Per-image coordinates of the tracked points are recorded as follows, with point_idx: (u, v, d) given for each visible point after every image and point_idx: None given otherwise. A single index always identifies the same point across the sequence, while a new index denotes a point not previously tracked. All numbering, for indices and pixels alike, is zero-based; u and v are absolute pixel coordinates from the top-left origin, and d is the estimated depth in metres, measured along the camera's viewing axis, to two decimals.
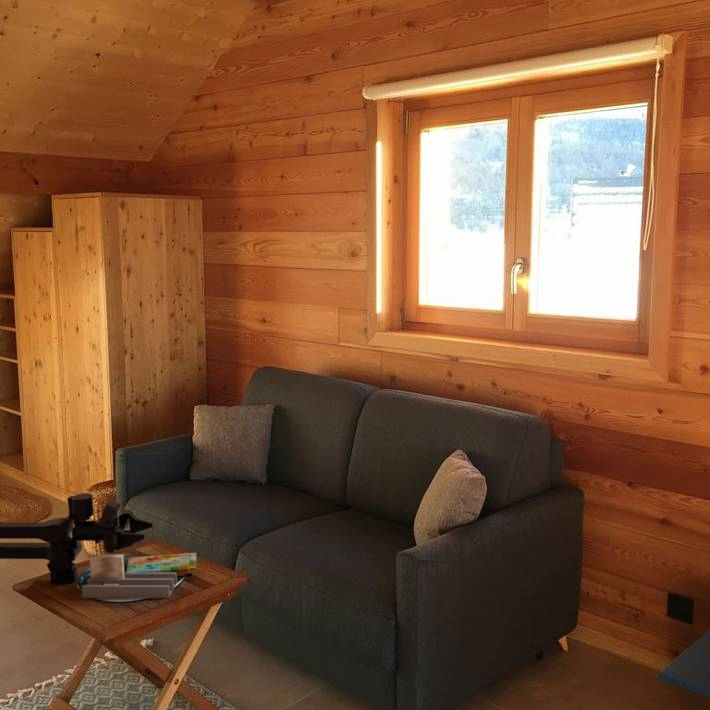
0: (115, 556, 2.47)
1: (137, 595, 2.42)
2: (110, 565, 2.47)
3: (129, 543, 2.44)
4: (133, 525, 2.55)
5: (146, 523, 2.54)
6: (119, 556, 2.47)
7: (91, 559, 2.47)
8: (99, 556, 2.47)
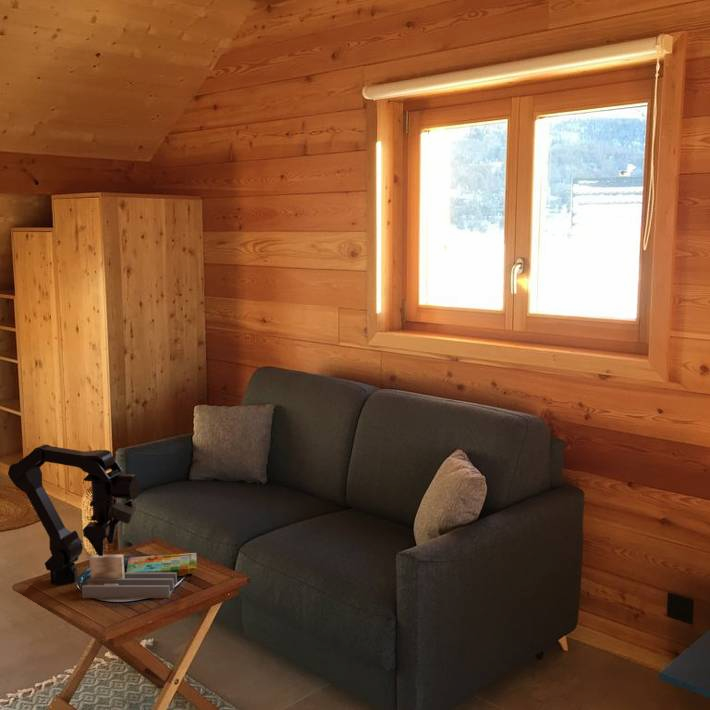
0: (115, 556, 2.47)
1: (137, 595, 2.42)
2: (110, 565, 2.47)
3: (93, 544, 2.41)
4: (109, 523, 2.51)
5: (112, 537, 2.51)
6: (119, 556, 2.47)
7: (91, 559, 2.47)
8: (99, 556, 2.47)
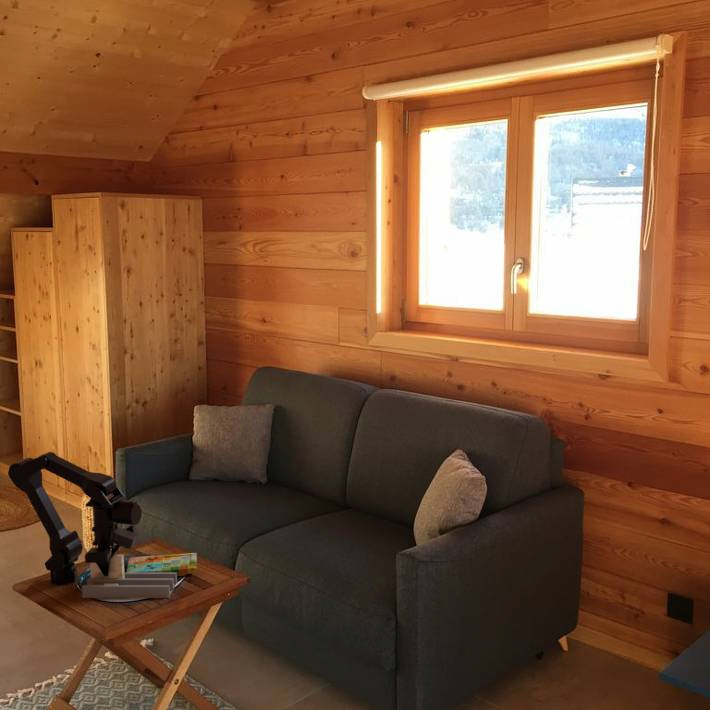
0: (115, 556, 2.47)
1: (137, 595, 2.42)
2: (110, 565, 2.47)
3: (98, 564, 2.45)
4: None
5: None
6: (119, 556, 2.47)
7: None
8: None
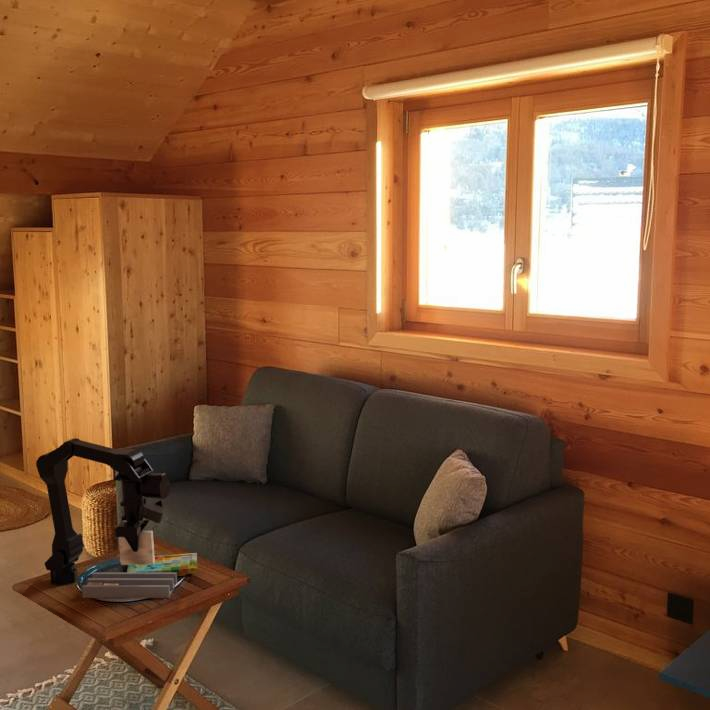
0: (144, 532, 2.42)
1: (137, 595, 2.42)
2: (139, 541, 2.42)
3: (128, 540, 2.41)
4: None
5: None
6: (149, 532, 2.42)
7: None
8: None
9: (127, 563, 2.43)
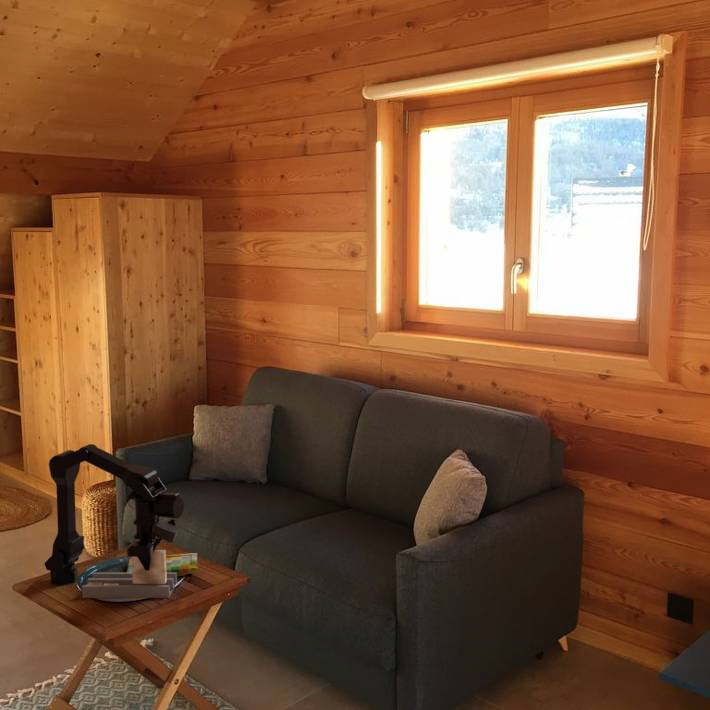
0: (157, 552, 2.42)
1: (137, 595, 2.42)
2: (152, 561, 2.42)
3: (140, 558, 2.40)
4: None
5: None
6: (162, 551, 2.42)
7: None
8: None
9: (139, 582, 2.43)
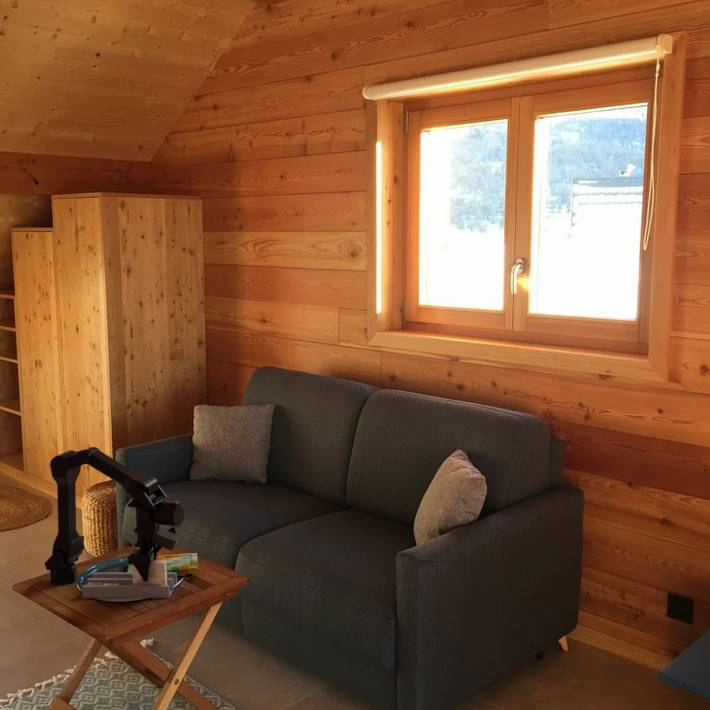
0: (158, 562, 2.43)
1: (137, 595, 2.42)
2: (152, 571, 2.42)
3: (138, 569, 2.38)
4: None
5: None
6: (162, 562, 2.43)
7: (133, 565, 2.42)
8: None
9: None
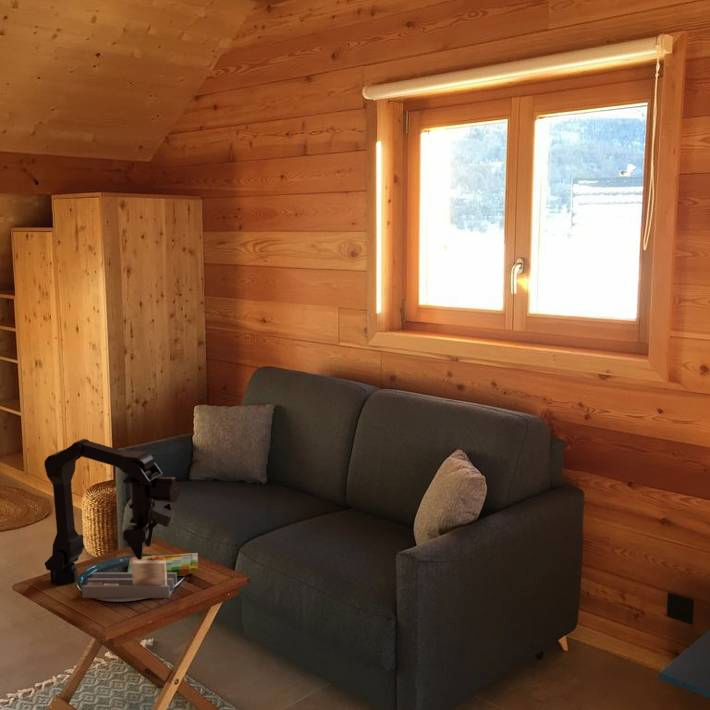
0: (158, 562, 2.43)
1: (137, 595, 2.42)
2: (152, 571, 2.42)
3: (132, 547, 2.37)
4: (147, 526, 2.48)
5: (150, 540, 2.48)
6: (162, 562, 2.43)
7: (133, 565, 2.42)
8: (141, 562, 2.43)
9: None
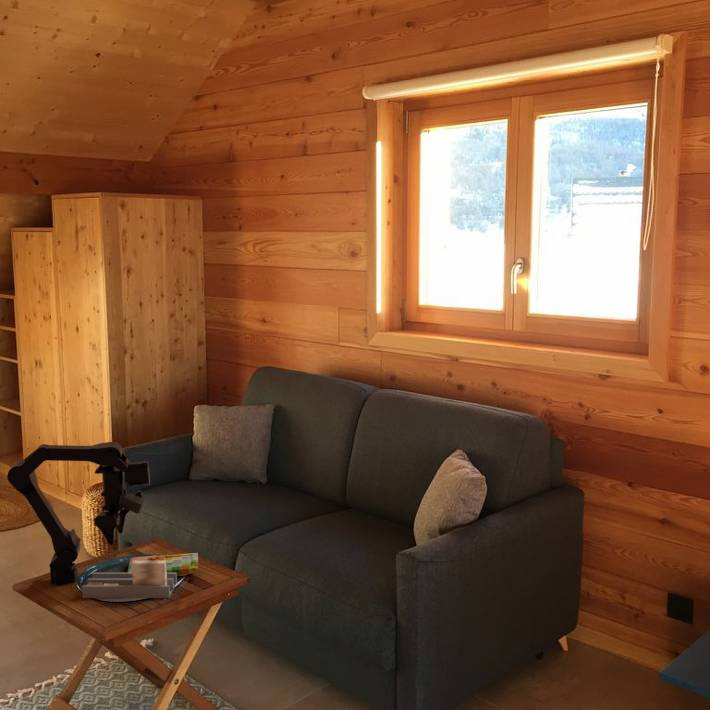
0: (158, 562, 2.43)
1: (137, 595, 2.42)
2: (152, 571, 2.42)
3: (104, 533, 2.47)
4: (119, 513, 2.58)
5: (122, 527, 2.58)
6: (162, 562, 2.43)
7: (133, 565, 2.42)
8: (141, 562, 2.43)
9: None
